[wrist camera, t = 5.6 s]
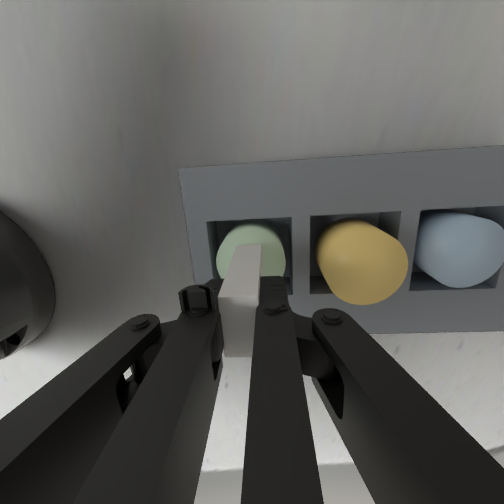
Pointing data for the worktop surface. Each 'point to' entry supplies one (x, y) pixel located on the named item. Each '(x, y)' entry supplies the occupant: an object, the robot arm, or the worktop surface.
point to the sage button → (253, 234)
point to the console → (362, 207)
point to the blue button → (458, 247)
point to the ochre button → (360, 261)
